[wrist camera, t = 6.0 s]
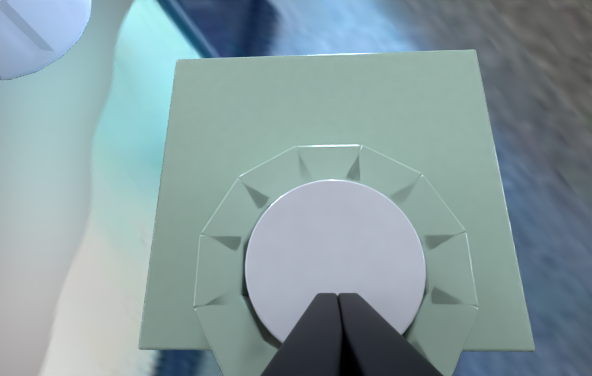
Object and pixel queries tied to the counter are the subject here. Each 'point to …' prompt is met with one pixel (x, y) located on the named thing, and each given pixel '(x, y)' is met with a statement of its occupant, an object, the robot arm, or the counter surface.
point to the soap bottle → (38, 33)
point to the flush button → (334, 254)
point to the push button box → (331, 166)
